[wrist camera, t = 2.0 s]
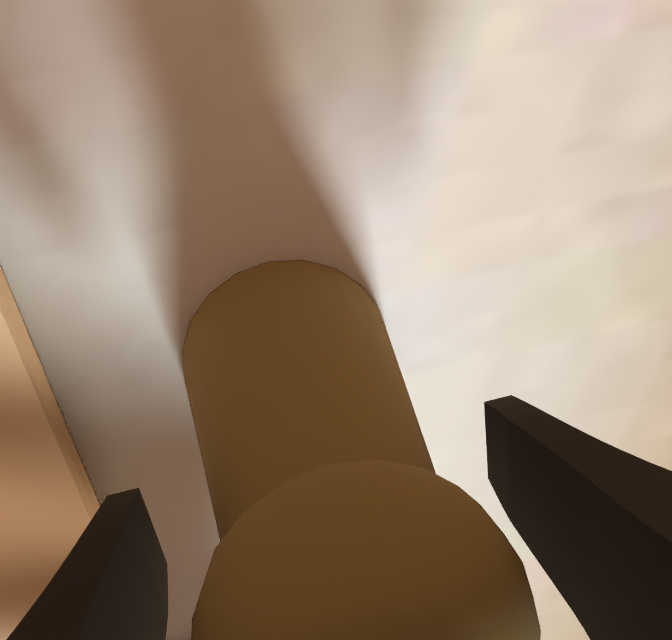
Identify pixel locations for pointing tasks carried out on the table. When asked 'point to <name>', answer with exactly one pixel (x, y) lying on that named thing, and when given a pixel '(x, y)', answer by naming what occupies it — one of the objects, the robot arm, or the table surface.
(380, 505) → the cork
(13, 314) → the shelf board
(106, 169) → the table surface
